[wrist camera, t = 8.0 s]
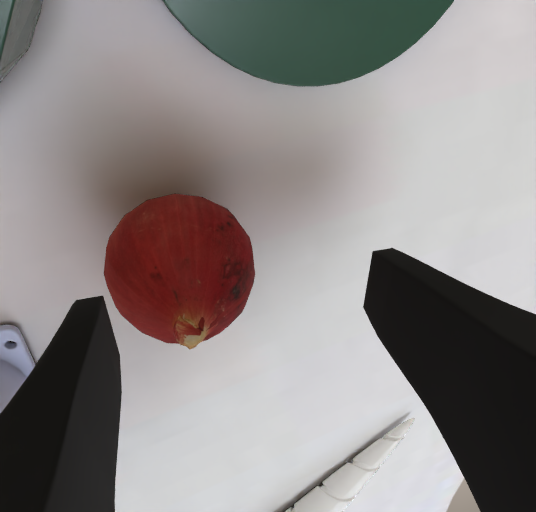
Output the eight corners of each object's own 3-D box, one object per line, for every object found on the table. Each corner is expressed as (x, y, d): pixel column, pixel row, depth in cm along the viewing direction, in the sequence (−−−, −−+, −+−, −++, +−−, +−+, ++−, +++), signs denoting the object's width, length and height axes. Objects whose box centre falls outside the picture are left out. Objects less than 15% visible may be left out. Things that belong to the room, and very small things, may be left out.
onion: (224, 154, 19) (277, 247, 12) (240, 258, 22) (288, 374, 16) (89, 180, 18) (72, 295, 11) (127, 285, 21) (130, 420, 15)
